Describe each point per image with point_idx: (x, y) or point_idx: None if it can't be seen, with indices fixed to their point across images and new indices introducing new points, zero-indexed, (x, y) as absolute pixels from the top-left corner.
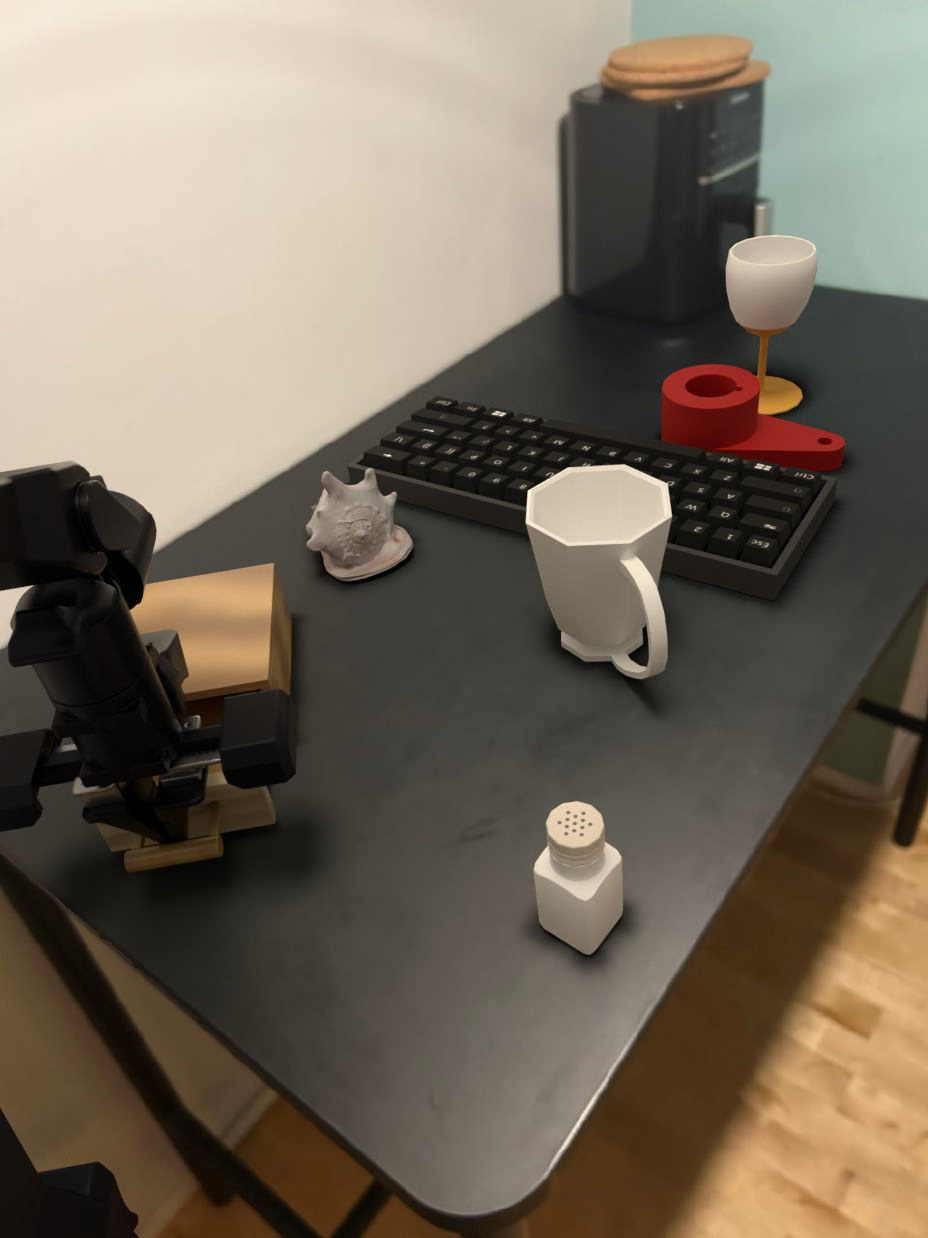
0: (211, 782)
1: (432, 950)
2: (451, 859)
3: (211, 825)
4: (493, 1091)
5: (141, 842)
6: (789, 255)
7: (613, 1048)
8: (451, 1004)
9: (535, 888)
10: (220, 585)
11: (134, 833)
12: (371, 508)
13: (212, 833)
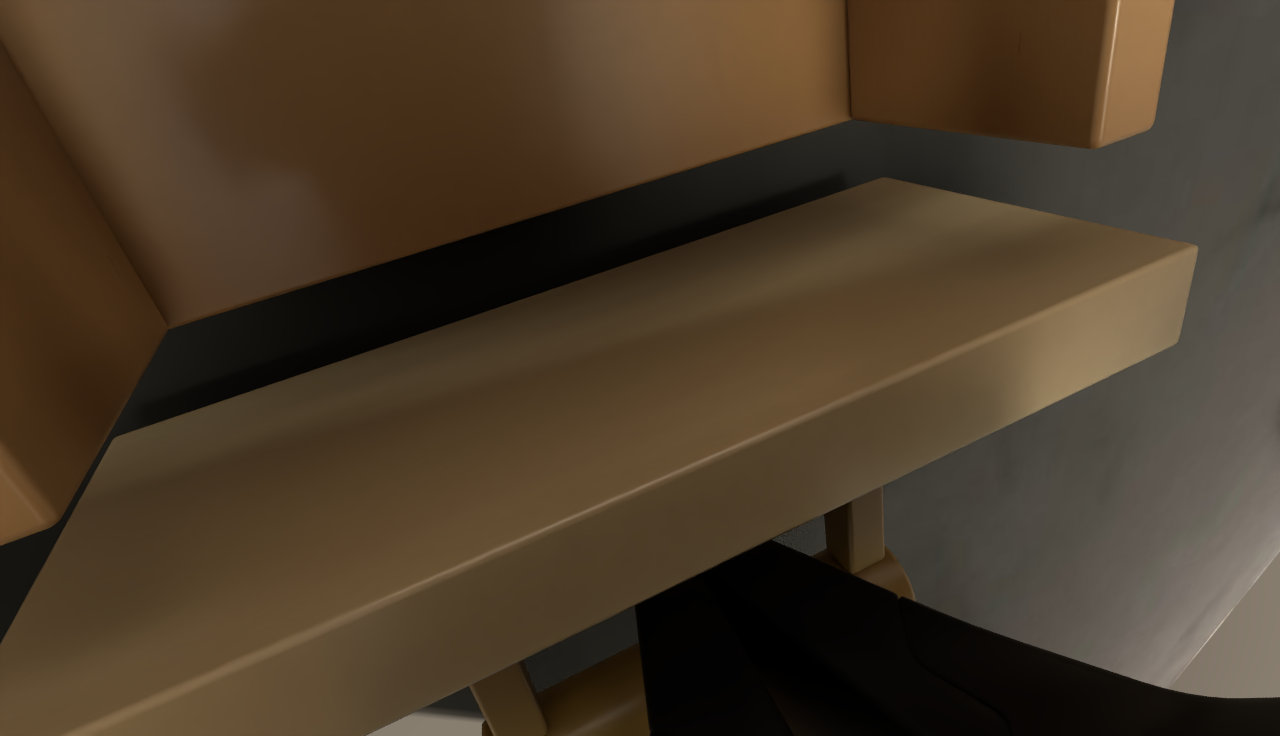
0: (964, 420)
1: (1134, 491)
2: (1225, 274)
3: (861, 530)
4: (1142, 651)
5: (539, 705)
6: None
7: (1272, 552)
8: (1132, 568)
9: None
10: None
11: (472, 685)
12: None
13: (868, 561)
